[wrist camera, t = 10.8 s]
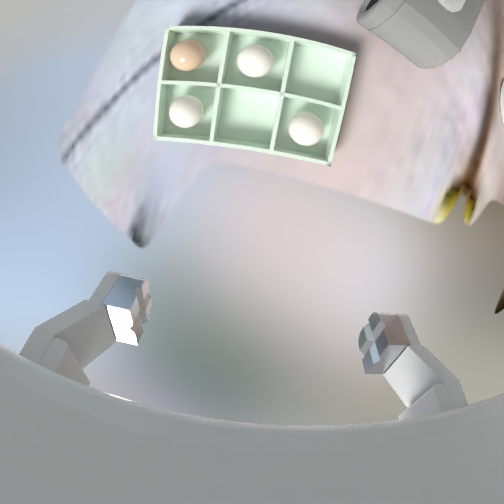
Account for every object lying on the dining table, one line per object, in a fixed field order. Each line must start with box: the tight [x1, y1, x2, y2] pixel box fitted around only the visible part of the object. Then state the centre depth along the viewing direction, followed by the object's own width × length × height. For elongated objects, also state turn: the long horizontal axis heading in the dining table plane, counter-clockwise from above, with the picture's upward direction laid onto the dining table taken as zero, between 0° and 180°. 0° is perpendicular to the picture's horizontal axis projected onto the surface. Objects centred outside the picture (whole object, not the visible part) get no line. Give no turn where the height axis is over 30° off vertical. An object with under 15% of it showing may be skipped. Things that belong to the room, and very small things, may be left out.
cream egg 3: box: [288, 112, 324, 146], centre depth 31 cm, size 4×4×4 cm
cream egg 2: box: [237, 44, 274, 77], centre depth 27 cm, size 4×4×4 cm
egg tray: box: [153, 26, 357, 166], centre depth 30 cm, size 23×16×4 cm
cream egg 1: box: [169, 95, 204, 128], centre depth 31 cm, size 4×4×4 cm
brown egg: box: [170, 39, 206, 71], centre depth 26 cm, size 4×4×4 cm
